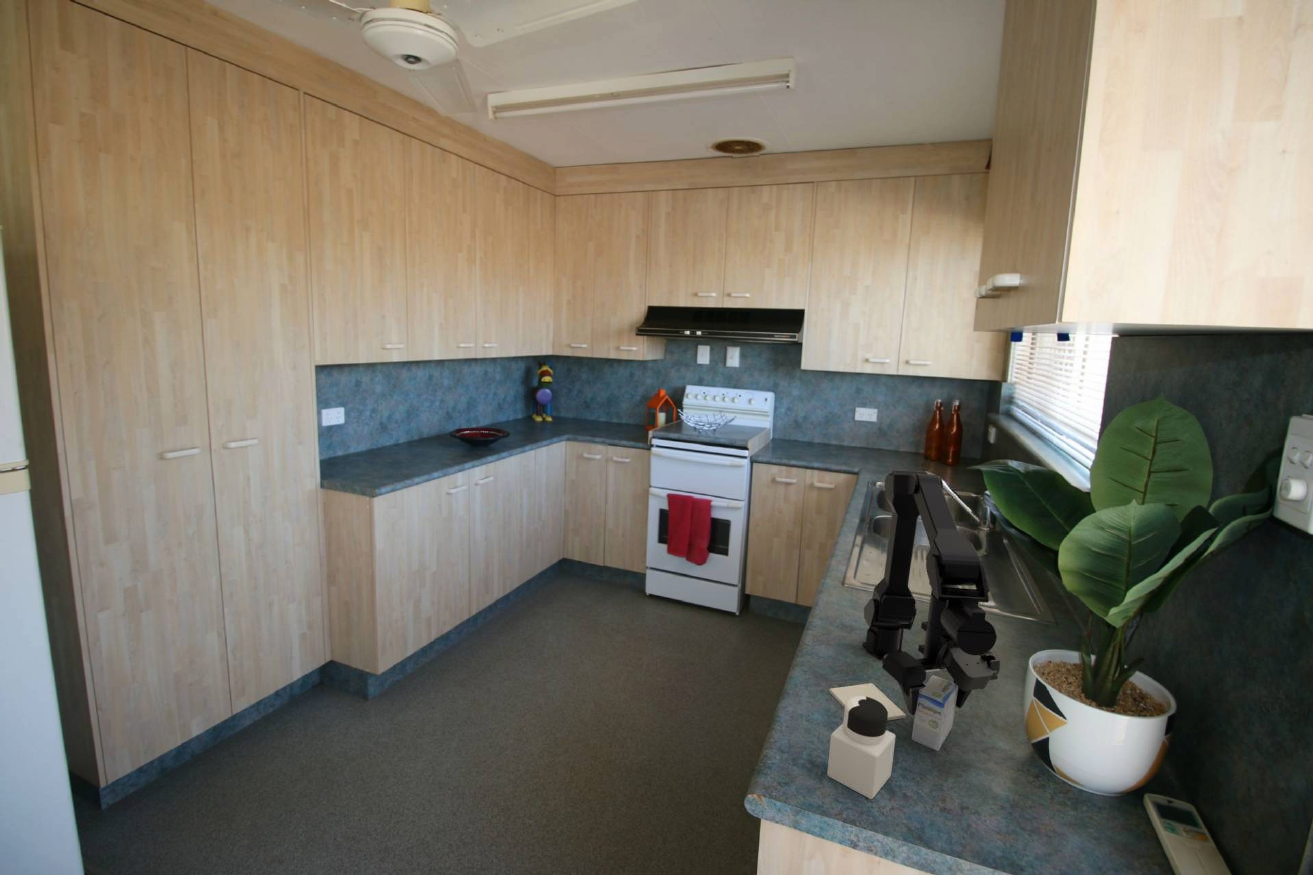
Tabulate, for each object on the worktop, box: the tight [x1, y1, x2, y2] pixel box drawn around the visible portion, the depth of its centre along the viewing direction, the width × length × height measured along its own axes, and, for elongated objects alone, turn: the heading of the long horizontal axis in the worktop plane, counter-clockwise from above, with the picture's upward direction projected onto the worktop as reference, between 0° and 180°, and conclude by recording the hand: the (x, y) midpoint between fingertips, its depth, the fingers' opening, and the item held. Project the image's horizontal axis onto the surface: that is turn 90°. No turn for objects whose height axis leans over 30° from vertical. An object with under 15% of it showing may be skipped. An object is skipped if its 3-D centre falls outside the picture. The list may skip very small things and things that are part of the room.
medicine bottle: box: [826, 696, 896, 800], centre depth 94 cm, size 7×7×12 cm
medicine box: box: [911, 674, 958, 752], centre depth 105 cm, size 8×4×9 cm, turn 141°
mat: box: [829, 682, 907, 722], centre depth 114 cm, size 9×10×1 cm
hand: (935, 710), depth 105 cm, fingers open, 9 cm apart
